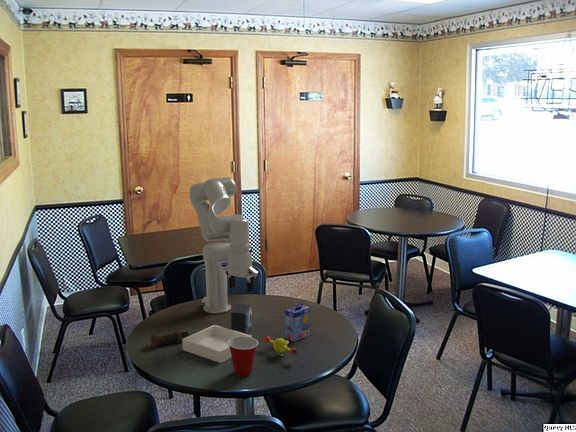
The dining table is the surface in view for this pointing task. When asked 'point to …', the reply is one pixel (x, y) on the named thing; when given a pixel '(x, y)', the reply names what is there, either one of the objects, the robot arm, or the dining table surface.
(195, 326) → the dining table surface
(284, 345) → the toy figure
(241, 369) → the plastic cup
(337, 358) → the dining table surface
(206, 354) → the tray
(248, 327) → the small box
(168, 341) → the bolt
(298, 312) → the ink cartridge box
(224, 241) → the robot arm
